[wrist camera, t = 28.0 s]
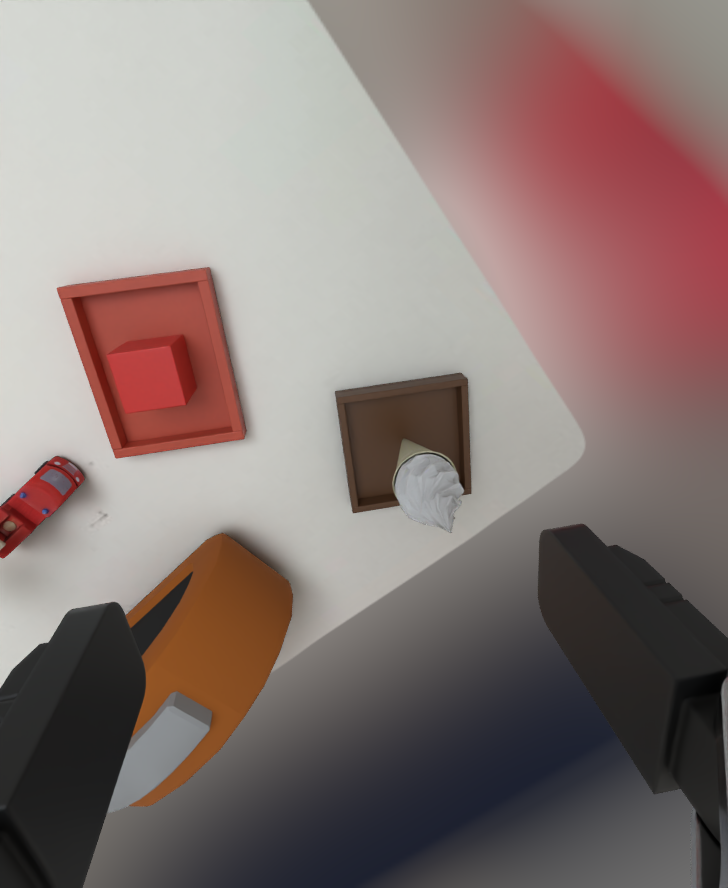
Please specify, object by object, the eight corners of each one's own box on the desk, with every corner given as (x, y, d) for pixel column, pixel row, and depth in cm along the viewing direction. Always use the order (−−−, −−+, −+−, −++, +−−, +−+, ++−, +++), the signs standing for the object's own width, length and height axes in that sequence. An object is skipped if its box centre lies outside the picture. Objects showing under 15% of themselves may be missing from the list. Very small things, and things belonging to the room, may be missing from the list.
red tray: (67, 285, 38) (56, 288, 36) (209, 267, 38) (205, 268, 37) (122, 449, 43) (115, 459, 41) (246, 431, 44) (244, 439, 42)
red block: (125, 341, 39) (105, 354, 35) (183, 333, 40) (170, 345, 36) (142, 396, 41) (125, 414, 37) (197, 388, 42) (186, 405, 37)
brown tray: (334, 391, 43) (336, 398, 42) (461, 372, 44) (467, 378, 43) (350, 503, 48) (352, 513, 46) (465, 484, 49) (471, 493, 47)
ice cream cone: (387, 474, 47) (424, 575, 33) (369, 427, 45) (401, 513, 31) (438, 454, 47) (497, 548, 33) (422, 406, 45) (478, 484, 31)
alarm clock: (226, 513, 47) (192, 650, 31) (296, 567, 50) (296, 715, 35) (69, 660, 51) (-28, 844, 36) (143, 701, 54) (83, 886, 39)
